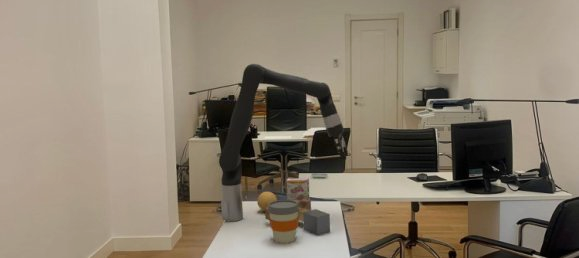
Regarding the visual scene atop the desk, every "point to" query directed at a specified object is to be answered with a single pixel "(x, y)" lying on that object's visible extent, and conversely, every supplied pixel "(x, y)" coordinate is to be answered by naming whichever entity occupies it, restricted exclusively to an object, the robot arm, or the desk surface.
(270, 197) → the stress ball
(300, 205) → the walnut block
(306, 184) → the candy bar box
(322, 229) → the grey sleeve
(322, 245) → the desk surface
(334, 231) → the desk surface
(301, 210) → the brass bar
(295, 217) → the reusable coffee cup
